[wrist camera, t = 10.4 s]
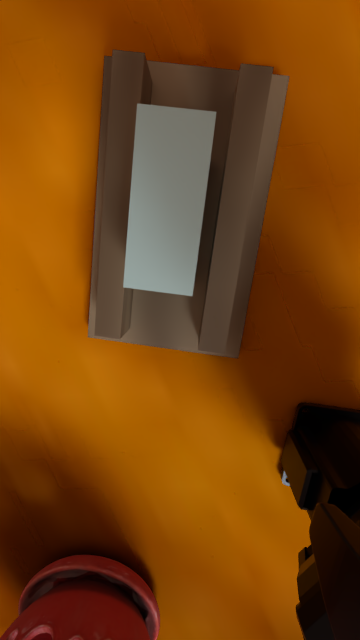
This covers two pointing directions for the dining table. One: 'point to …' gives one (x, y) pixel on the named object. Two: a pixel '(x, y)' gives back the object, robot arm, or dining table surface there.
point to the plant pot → (86, 603)
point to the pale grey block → (167, 197)
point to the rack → (219, 212)
